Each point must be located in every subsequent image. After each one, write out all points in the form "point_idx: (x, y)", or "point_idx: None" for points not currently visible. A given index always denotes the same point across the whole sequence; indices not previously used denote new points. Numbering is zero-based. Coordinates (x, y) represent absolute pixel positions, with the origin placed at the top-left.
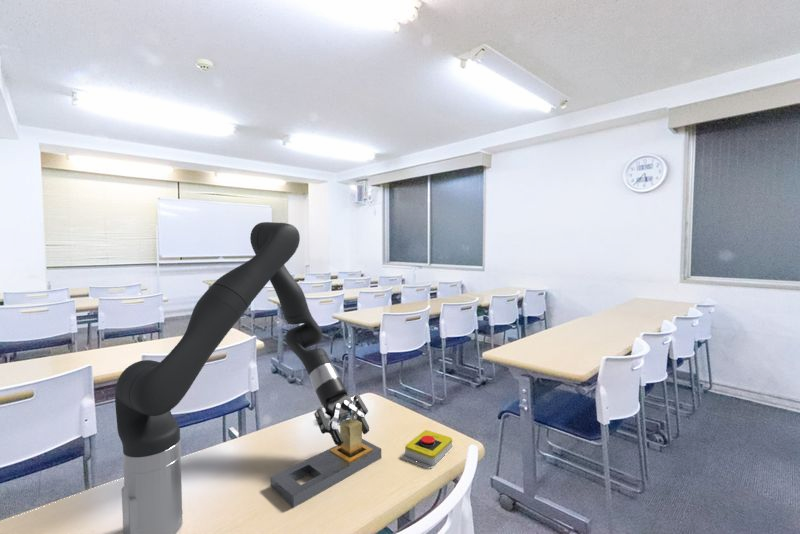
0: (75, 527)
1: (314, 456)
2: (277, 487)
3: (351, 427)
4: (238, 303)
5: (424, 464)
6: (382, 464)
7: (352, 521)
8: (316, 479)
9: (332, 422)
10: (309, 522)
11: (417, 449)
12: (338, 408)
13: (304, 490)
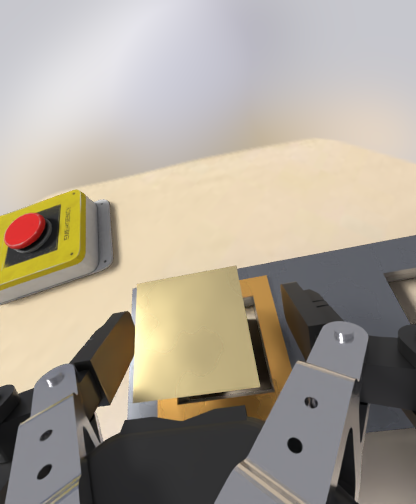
0: None
1: (394, 423)
2: None
3: (223, 268)
4: None
5: (101, 214)
6: (166, 269)
7: (330, 150)
8: (410, 255)
9: (363, 364)
10: None
11: (75, 225)
12: (259, 487)
13: None
